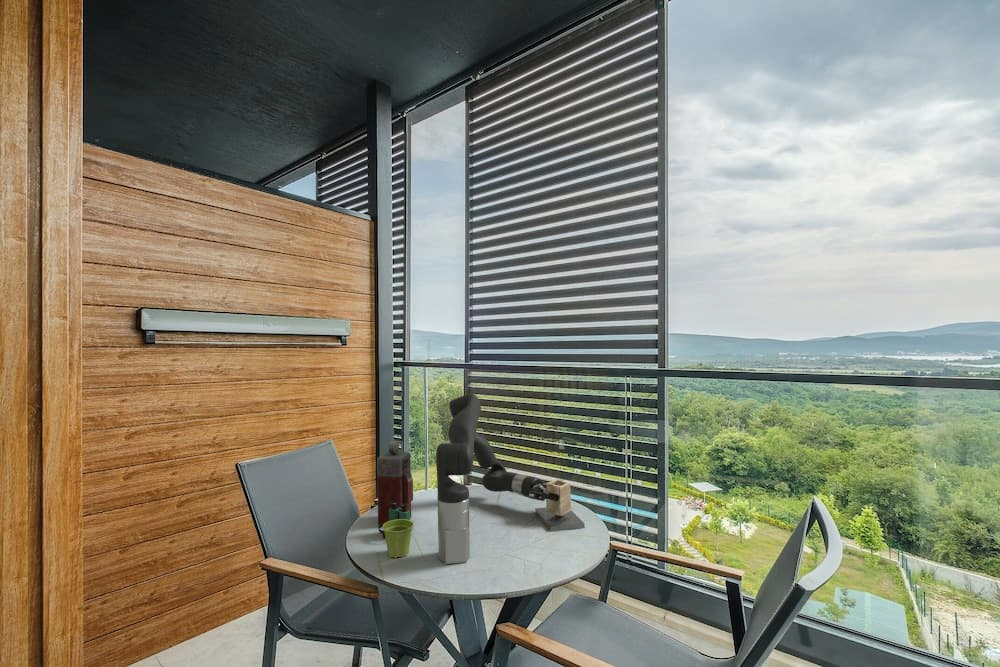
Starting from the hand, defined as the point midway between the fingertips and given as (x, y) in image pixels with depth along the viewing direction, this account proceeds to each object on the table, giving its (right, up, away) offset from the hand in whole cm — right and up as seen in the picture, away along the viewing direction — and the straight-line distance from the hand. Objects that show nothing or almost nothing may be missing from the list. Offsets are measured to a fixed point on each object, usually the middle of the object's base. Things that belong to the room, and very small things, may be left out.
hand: (564, 495), depth 173 cm
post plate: (-2, -9, +2) cm, 9 cm away
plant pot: (-52, -10, -23) cm, 58 cm away
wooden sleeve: (-2, -6, +2) cm, 6 cm away
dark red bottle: (-58, -10, +3) cm, 59 cm away
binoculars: (-56, -10, -11) cm, 58 cm away
